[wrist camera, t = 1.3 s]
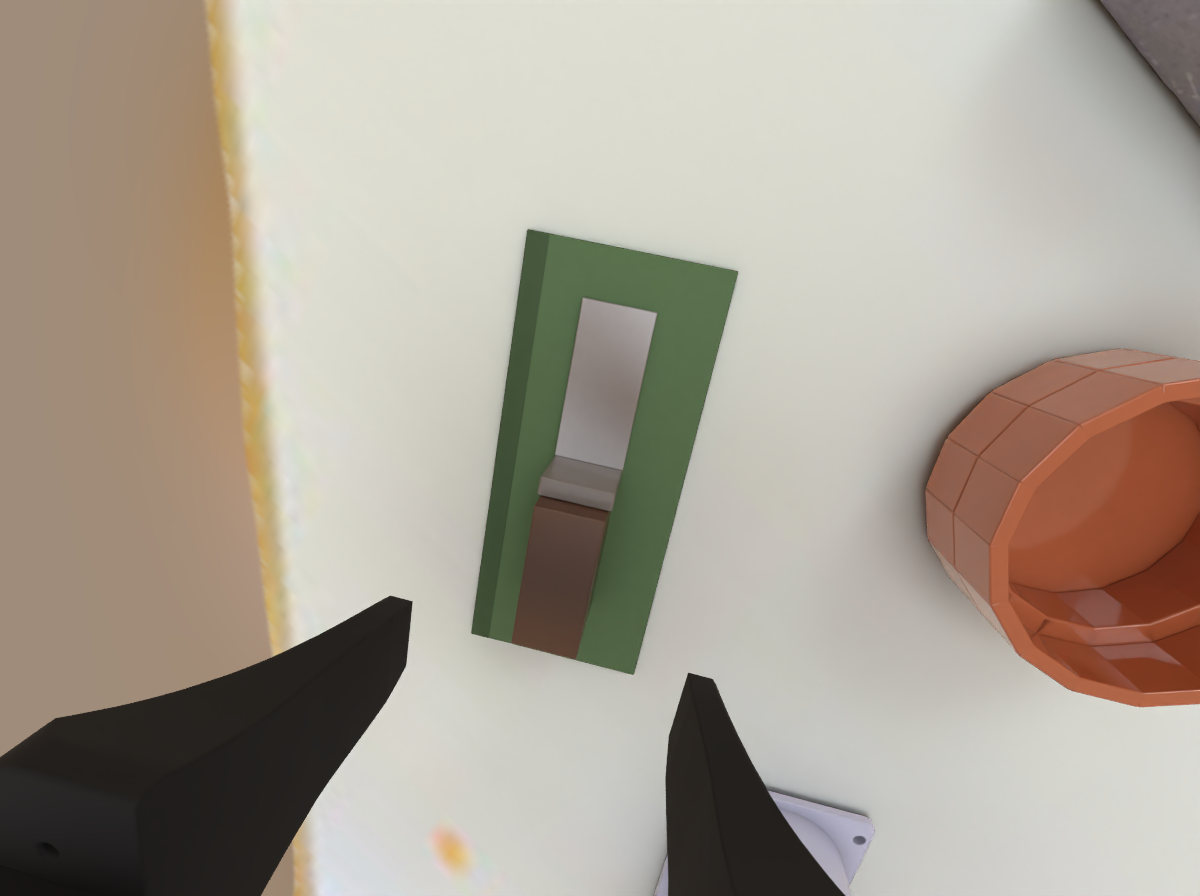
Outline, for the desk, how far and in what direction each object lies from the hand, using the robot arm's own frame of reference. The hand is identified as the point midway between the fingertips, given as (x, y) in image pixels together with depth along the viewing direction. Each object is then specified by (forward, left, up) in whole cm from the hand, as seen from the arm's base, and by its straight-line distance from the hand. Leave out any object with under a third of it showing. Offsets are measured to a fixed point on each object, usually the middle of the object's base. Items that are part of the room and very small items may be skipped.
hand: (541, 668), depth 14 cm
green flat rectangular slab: (+2, +1, -8) cm, 9 cm away
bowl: (+5, -16, -8) cm, 19 cm away
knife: (+2, +1, -8) cm, 9 cm away
